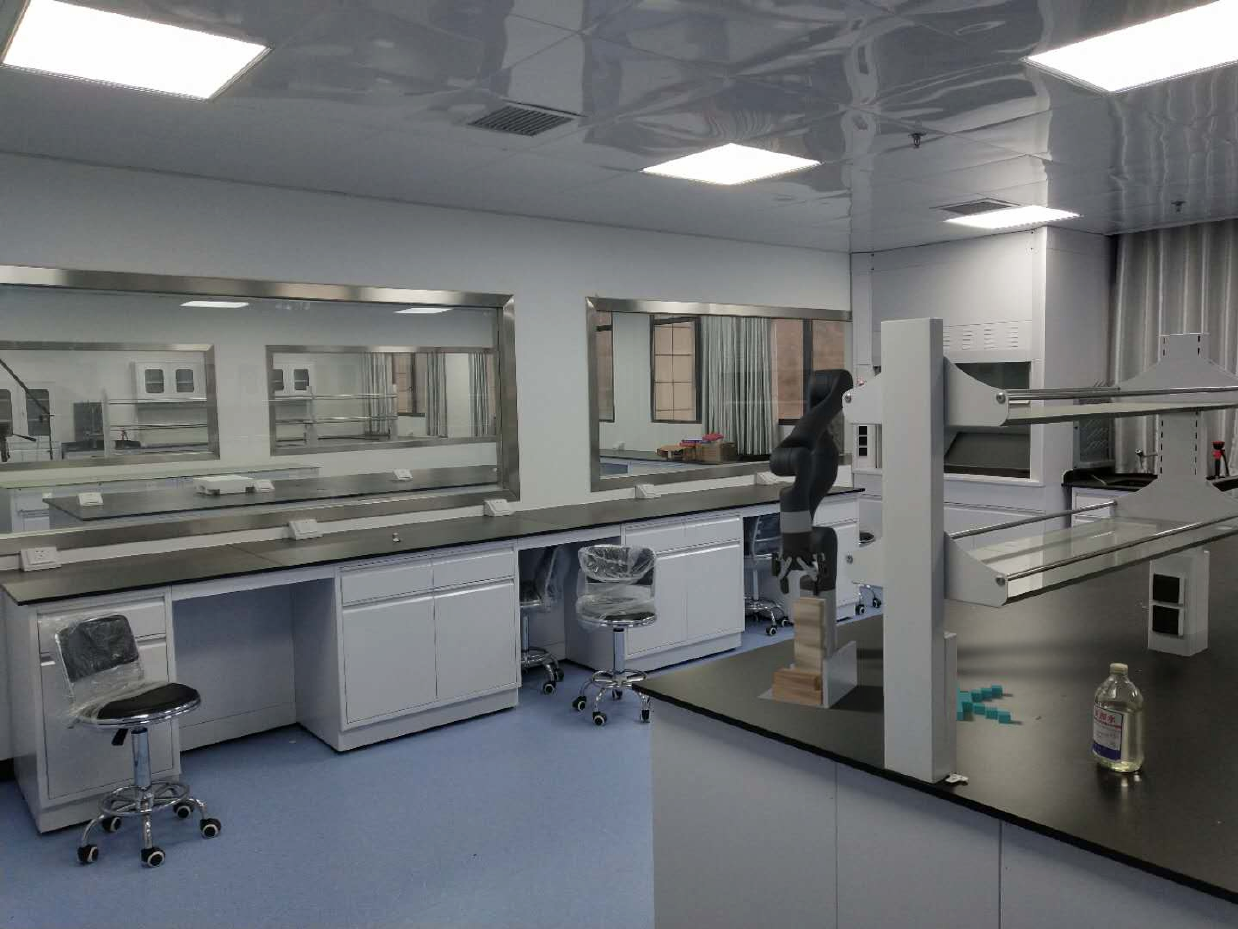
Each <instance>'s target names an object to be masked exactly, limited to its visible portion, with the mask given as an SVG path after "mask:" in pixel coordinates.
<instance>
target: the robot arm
mask: <svg viewBox="0 0 1238 929" xmlns="http://www.w3.org/2000/svg"><path fill="white" fill-rule="evenodd" d="M808 377H809V378H808V382H807V390H806V392H807V393H806V412H805V413H804V414H802V416H801V417H799V419H798V420H797V421H796V423H795V425H794V427H793V429H792V430H791V432H790V434H789V435H788V436H786V437H785V438H784V439H783V440H782V441H781V442H780V443H779V444H777V446H776V447H775V448H774V449H773V451H772V452H771V454H770V457H769V462H768V464H769V465H768V466H769V470H770V471H771V473H772V474H773V475H774V476H776V477H779V478H780V477H782V478H787V477H795V478H794V481H793V484H792V485H788V486H784V487H782V488H780V490H779V493H778V496H779V497H778V498H779V499H778V500H779V511H780V512H779V514H780V515H779V518H780V519H779V524H780V525H779V526H780V540H781V548H782V552H781V551H778V550H777V551H774V552H772V553H771V557H770V558H771V576H773V577H776V578H778V579H779V586H780V591H781V593H782V594H783V595H788V594H789V593H790V585H789V578H788V576H789V574H790V573H791V572H792V571H793V572H794V571H801V572H805V573H806V574H804V575H802V576H801V577H800V578H799V583H798V584H799V597H806V598H817V599H826V634H827V657H828V656H830V655H831V654H833V653H834V652H836V651H837V650H838V631H837V630H838V629H837V628H838V627H837V626H838V623H837V622H838V621H837V620H838V619H837V614H838V613H837V577H838V551H839V550H838V549H839V542H838V534H837V532H836V530H835V528H833V527H831V526H820V525H819V526H818V525H817V526H816V525H813V523H814V518H815V514H816V513H817V509H818V507H819V505H820V504H821V503H822V501H823V499H825V497H826V495H827V494H828V493H829V492H830V490H831V489H832V487H833V486H834V484H835V482H836V480H837V478H838V474H839V472H838V470H839V460H840V452H839V449H838V446H837V444H836V442H835V440H834V438H833V436H832V435H831V433H830V432H829V430H828V426H829V425H830V423H832V421H833V420H834V419H835V418H836V417H837V416H838V414H839V413H840V412H841V411H842V410H843V408H844V407H843V406H842V396H843V394H844V393H845V392H846V391H848V390H850V389H852V388H853V389H854V379H853V376H852V374H851V372H850V371H849V370H847V369H846V368H845V369H844V368H833V369H832V368H831V369H829V368H828V369H816V370H813V371H812V372H811V373H810V375H809V376H808ZM782 560H783V561H784V562H785V563H784V564H783V566H782ZM815 563H817V566H816V565H815Z"/></svg>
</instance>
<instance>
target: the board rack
mask: <svg viewBox="0 0 1238 929" xmlns="http://www.w3.org/2000/svg"><path fill="white" fill-rule="evenodd" d="M857 664H858V663H857V640H850V641H849V642H848V643H846V644H845V645H843V646H842V647H840V648H839V649H837V651H836V652H834V653H833V654H831V655H830V656H828V657H827V658H825V659H824V660H823V676H822V685H823V702H822V703H821V704H818V703H812V702H805V701H799V700H793V699H786V698H780V697H774V696H772V687H771V688H769V689H768V690H766V691H764V692H763V693H762V694H760V695H759V696H757V698H759V699H766V700H771V701H779V702H785V703H790V704H796V705H797V704H798V705H801V706H803V705H804V706H808V707H810V706H811V707H815V708H816V707H817V708H821V709H823V708H824V709H830V708H831V707H832V706H833V705H835V703H838V701H839V700H840V699H842V698H844V696H846V695H847V694H848V693H850V692H851V691H852V690H853V689H854V688H856V687H857V686H858V674H857V673H858V670H857V669H858V667H857ZM789 669H792V670H795V663H791V664H790V665H789Z"/></svg>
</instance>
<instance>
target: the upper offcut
mask: <svg viewBox="0 0 1238 929" xmlns="http://www.w3.org/2000/svg"><path fill="white" fill-rule="evenodd" d="M773 682H774V683H775V685H779V686H786V687H793V688H799V689H806V690H813V691H814V690H815V689H817V688H818V687H820V686H821V685H822V674H821V673H814V672H807V671H800V670H792V669H790V668H784V667H783V668H780V669H778V670H777V671H776V672H774V681H773Z"/></svg>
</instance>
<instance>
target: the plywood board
mask: <svg viewBox="0 0 1238 929" xmlns="http://www.w3.org/2000/svg"><path fill="white" fill-rule="evenodd" d="M793 643H794V644H793V648H794V650H793V651H794V653H793V654H794V655H793V656H794V664H795V670H800V671H807V672H814V673H821V674H822V676H823V660H824V659H825V658H827V634H826V599H817V598H806V597H800V596H799V597H797V598H795V599H793Z"/></svg>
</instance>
